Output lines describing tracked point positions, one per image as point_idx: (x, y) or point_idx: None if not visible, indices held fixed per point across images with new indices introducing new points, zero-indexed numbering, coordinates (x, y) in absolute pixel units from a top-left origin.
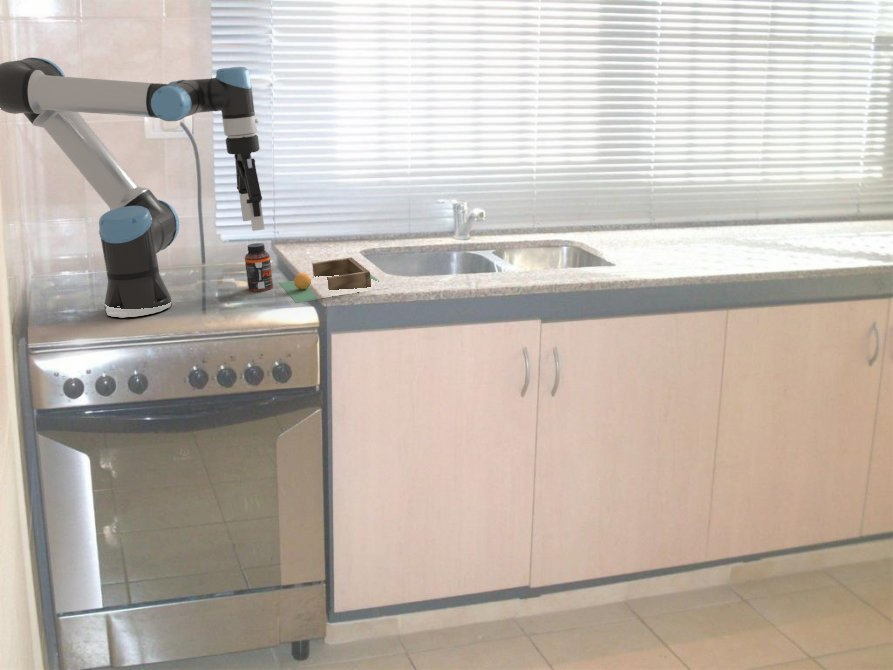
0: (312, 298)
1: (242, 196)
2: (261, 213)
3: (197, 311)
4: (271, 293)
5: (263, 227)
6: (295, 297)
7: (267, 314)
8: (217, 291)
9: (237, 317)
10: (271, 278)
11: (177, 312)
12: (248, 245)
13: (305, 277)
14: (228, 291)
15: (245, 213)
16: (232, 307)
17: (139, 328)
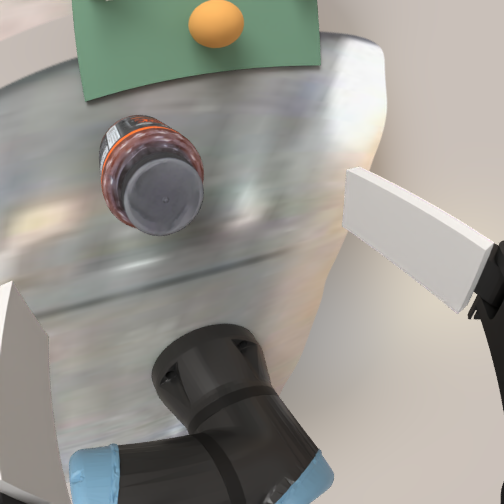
0: (306, 25)
1: (58, 489)
2: (430, 208)
3: (263, 268)
4: (184, 116)
5: (366, 173)
6: (278, 58)
7: (350, 131)
8: (106, 270)
9: (338, 186)
10: (151, 118)
11: (251, 302)
12: (167, 231)
13: (241, 13)
14: (114, 242)
15: (39, 362)
16: (270, 204)
17: (307, 322)
